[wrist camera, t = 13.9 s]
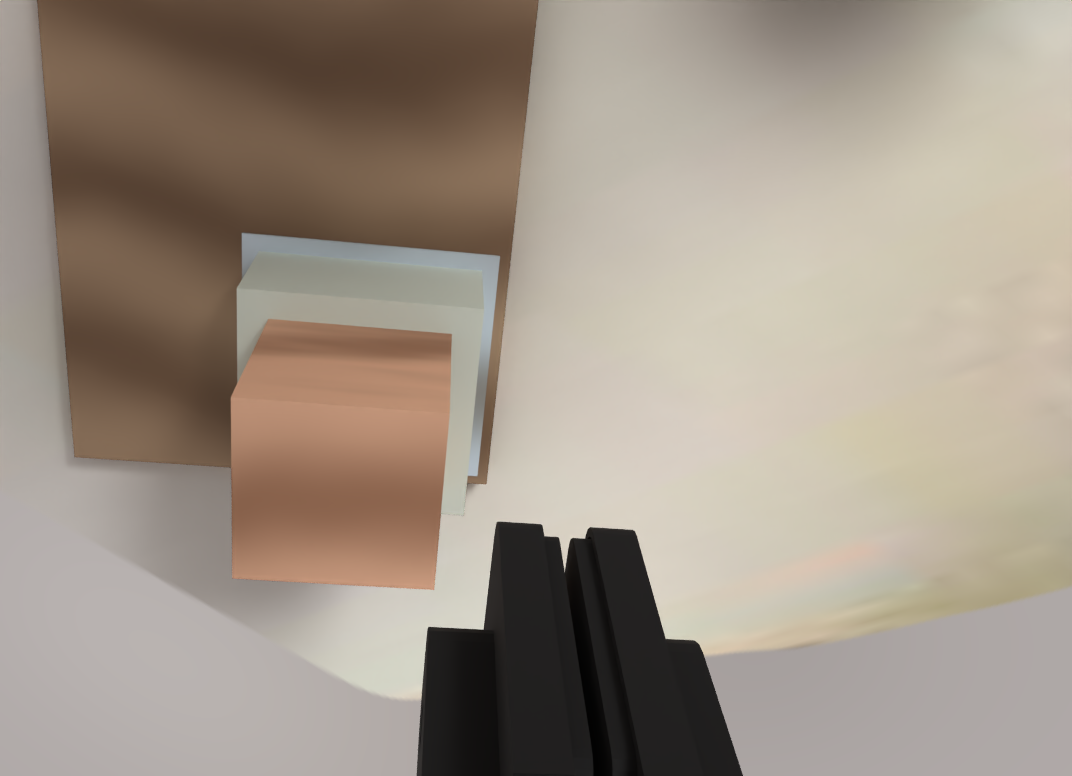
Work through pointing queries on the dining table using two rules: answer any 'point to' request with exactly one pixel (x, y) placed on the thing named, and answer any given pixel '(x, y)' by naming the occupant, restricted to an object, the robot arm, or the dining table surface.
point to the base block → (377, 322)
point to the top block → (340, 455)
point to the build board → (264, 183)
